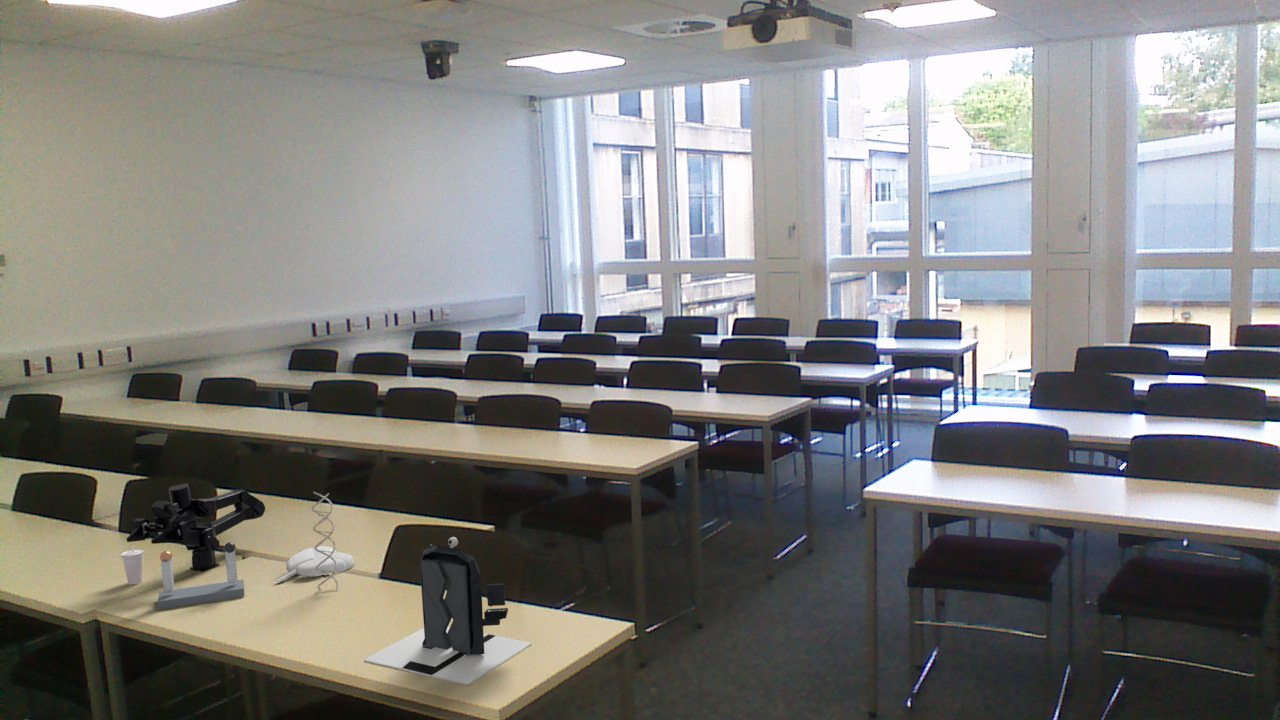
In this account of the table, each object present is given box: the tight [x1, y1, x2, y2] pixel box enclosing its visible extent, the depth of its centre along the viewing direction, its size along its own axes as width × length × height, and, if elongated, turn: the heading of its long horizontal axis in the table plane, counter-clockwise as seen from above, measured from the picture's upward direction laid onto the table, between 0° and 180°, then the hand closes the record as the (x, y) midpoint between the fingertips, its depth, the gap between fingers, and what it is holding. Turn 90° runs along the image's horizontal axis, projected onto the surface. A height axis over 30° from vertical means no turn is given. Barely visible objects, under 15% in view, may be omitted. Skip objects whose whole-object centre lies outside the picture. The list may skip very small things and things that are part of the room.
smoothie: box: [120, 541, 145, 586], centre depth 301 cm, size 6×6×14 cm
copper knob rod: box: [159, 550, 176, 593], centre depth 281 cm, size 3×3×12 cm
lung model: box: [274, 545, 356, 583], centre depth 306 cm, size 7×17×25 cm
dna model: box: [311, 491, 339, 591], centre depth 287 cm, size 7×6×30 cm
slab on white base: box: [364, 536, 532, 686], centre depth 238 cm, size 32×25×28 cm
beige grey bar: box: [223, 542, 239, 584], centre depth 288 cm, size 3×3×12 cm
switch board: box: [156, 578, 245, 611], centre depth 285 cm, size 9×23×2 cm, turn 113°
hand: (139, 541), depth 289 cm, fingers open, 9 cm apart
